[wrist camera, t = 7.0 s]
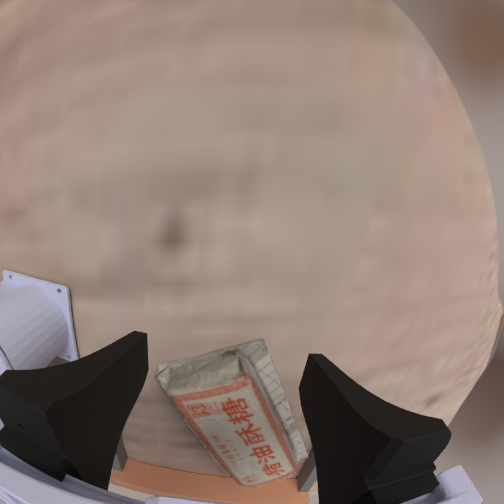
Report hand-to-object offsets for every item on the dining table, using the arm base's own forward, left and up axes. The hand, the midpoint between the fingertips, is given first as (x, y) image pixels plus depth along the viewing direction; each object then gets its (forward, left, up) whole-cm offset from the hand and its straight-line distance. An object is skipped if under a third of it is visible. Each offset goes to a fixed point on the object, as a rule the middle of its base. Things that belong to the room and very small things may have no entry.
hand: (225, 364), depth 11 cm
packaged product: (+2, -14, -10) cm, 17 cm away
